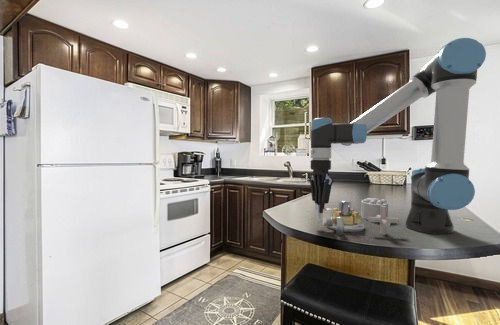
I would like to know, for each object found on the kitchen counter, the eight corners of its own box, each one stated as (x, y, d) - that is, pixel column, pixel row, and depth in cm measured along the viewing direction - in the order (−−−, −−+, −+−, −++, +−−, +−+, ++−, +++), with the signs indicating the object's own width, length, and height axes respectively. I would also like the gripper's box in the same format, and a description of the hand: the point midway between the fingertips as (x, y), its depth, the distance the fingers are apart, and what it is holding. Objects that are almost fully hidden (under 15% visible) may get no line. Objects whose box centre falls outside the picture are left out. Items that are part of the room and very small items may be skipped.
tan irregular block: (340, 216, 108) (340, 202, 108) (364, 221, 100) (365, 206, 100) (312, 223, 97) (312, 207, 97) (337, 229, 89) (338, 212, 89)
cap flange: (363, 224, 105) (363, 200, 104) (364, 233, 92) (364, 205, 91) (327, 221, 110) (328, 197, 110) (324, 229, 97) (324, 203, 97)
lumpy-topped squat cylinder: (382, 215, 121) (382, 197, 121) (392, 222, 108) (392, 202, 108) (359, 214, 123) (359, 196, 123) (366, 221, 110) (366, 201, 110)
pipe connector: (403, 239, 85) (404, 209, 85) (371, 237, 87) (371, 208, 87) (393, 231, 95) (393, 204, 95) (364, 229, 97) (364, 203, 97)
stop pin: (343, 233, 92) (343, 216, 92) (343, 235, 90) (343, 218, 89) (336, 232, 93) (336, 216, 93) (336, 234, 90) (336, 217, 90)
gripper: (303, 159, 102) (302, 217, 103) (322, 159, 90) (321, 226, 91) (319, 159, 105) (318, 216, 105) (340, 159, 92) (338, 224, 93)
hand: (319, 220), depth 98 cm, fingers closed
